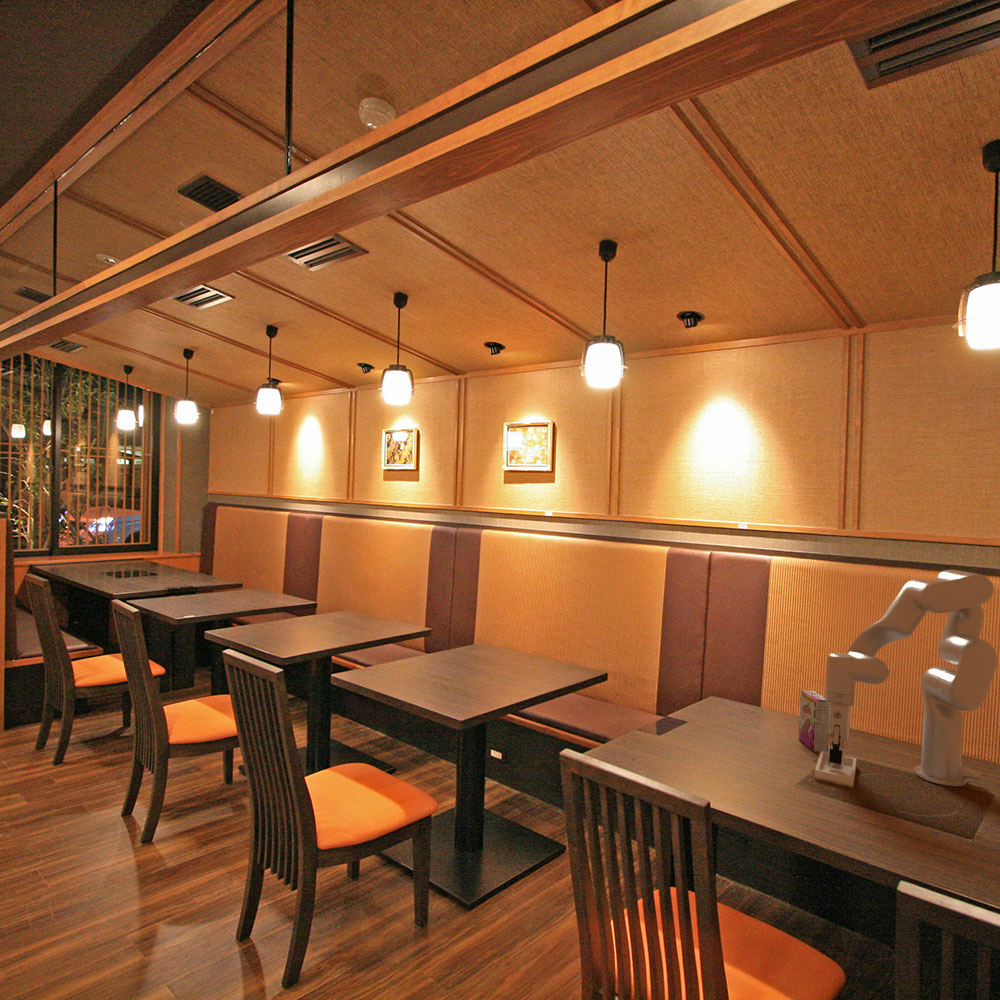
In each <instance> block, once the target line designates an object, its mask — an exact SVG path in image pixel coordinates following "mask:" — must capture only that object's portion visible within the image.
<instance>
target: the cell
mask: <svg viewBox="0 0 1000 1000" xmlns="http://www.w3.org/2000/svg"><path fill="white" fill-rule="evenodd" d="M833 738H834V736H833ZM839 739H841V737H839ZM838 742H839V743H840V741H838ZM845 745H846V741H845V740H842V748H841V750H842V764H841V765H840V764H835V763H831V762H829V754H830V748H831V738H830V737H829V736H828V766H830V767H832V768H836V769H842V768H843V761H844V756H845V747H846V746H845Z"/></svg>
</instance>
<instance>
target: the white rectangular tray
mask: <svg viewBox="0 0 1000 1000" xmlns="http://www.w3.org/2000/svg"><path fill="white" fill-rule="evenodd" d="M856 770H857V758H855V757H851V756H847V755H844V761H843V768H842V769H836V768H832V767H830V766H828V752H823V751H821V752H819V756H818V759H817V762H816V766H815V769H814V779H815V780H818V781H823V782H826V783H827V782H828V783H831V784H835V785H840V786H844V787H849V788H854V784H855V777H856Z"/></svg>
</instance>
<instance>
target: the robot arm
mask: <svg viewBox="0 0 1000 1000" xmlns="http://www.w3.org/2000/svg"><path fill="white" fill-rule="evenodd" d="M994 591H995V589H994V584H993V582H992V580H990V578H988V577H987V576H985V575H984V574H980V573H977V572H971V571H964V570H957V569H945V570H942V571H941V572H939V573H938V575H937V576H936V579H935V581H930V580H925V579H919V578H918V579H916V578H915V579H911V580H909V581H907V582H906V583H905V584H904V585H903V586H902V587H901V589H900V591H899V592H898V593H897V595H896V597H895V598H894V599H893V601H892V602H891V603H890V605H889V607H888V608H887V609H886V611H885V612H884V614H883V615H882V617H881V618H880V619H879V620H878V621H876V622H875V623H872V625H869V627H868V628H866V629H865V630H863V631H862V632H861V633H860V634H859V635H858V636H856V637H855V639H854V640H853V642H852V643H851V644H850V646H849V648H848V649H847V651H846V653H841V652H831V653H829V654H828V656H827V658H826V659H827V661H826V674H825V675H826V678H825V692H824V695H825V696H824V698H825V701H826V702H828V703H829V721H828V729H829V736H828V738H829V737H830V738H831V748H830V754H829V762H831V763H835V764H840V765H841V764H842V750H841V748H842V740H845V742H847V741H848V740H849V735H850V721H851V720H850V718H851V707H853V706H854V705H855V693H856V682H857V683H860V682H861V683H864V684H869V685H881V684H883V683H884V682H886V681H887V680H888V679H889V675H890V669H889V667H888V665H887V664H886V663H885V662H884V661H883V660H881V659H879V658H877V657H875V656H876V654H877V653H878V652H879V651H880V650H881V649H882V648H883V647H885V646H886V645H888V644H891V643H894V642H897V641H902V640H905V639H907V638H910V637H911V636H912V635H913V633H914V632H915V630H916V629H917V628H918V626H919V624H920V623H921V621H922V620H923V618H924V617H925V616H926V614H927V613H928V612H929V613H931V614H944V613H947V617H946V620H945V621H946V622H945V625H944V627H943V631H942V634H941V637H940V639H939V643H938V646H937V647H938V648H937V653H938V656H939V657H940V659H941V660H942V661H943V662H945V663H948V664H949V665H952V666H954V667H956V670H954V669H951V668H948V667H945V666H933V667H931V668H929V669H927V670H926V671H925V672H924V674H923V675H922V677H921V692H922V697H923V719H922V720H923V721H922V737H921V738H922V739H921V740H922V741H921V742H922V743H921V760H920V765H917V766H914V774H915V775H917V776H918V777H920V778H921V779H923V780H925V781H928V782H930V783H934V784H938V785H942V786H948V787H963V786H966V785H967V781H968V780H967V778H968V779H970V780H971V779H972V780H974V781H981V773H978V772H975V770H971V769H966V768H964V767H963V765H962V749H963V747H962V745H963V744H962V743H963V727H964V715H963V712H967V713H968V712H975V711H976V710H979V709H980V707H982V706H983V704H985V703H984V702H985V701H986V699H987V696H988V693H989V692H990V691H989V690H990V688H991V684H992V680H993V678H994V675H995V672H996V669H997V664H998V657H997V652H996V649H995V648H994V646H993V645H992V644H991V643H989V642H988V641H987V640H984V639H982V638H980V636H981V633H982V628H983V624H984V610H983V606H982V605H983V604H985V603H987V602H988V601H989V600H990V599H991V598H992V597H993V594H994ZM833 736H834V738H833ZM839 737H841V739H839ZM838 741H840V743H839V742H838Z"/></svg>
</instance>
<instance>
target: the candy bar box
mask: <svg viewBox="0 0 1000 1000" xmlns="http://www.w3.org/2000/svg"><path fill="white" fill-rule="evenodd" d="M799 700H800V702H799V725H798V726H799V727H798V728H799V729H798V740H799V741H801V743H802V744H803V745H805V746H806V747H808V748H809V750H811V751H812V752H813V753H820V752H821V751H823V752H828V751H829V729H828V721H829V703H828V702H826V701H825V696H823V695H822V694H820V693H818V692H817V691H816V690H806V689H805V690H804V689H802V690H800V699H799Z"/></svg>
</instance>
